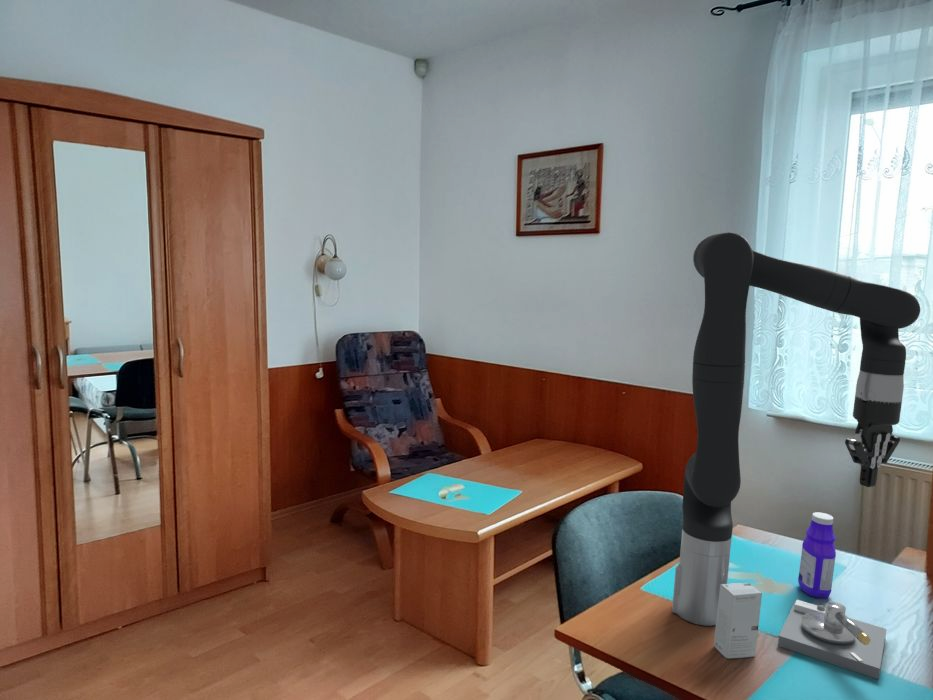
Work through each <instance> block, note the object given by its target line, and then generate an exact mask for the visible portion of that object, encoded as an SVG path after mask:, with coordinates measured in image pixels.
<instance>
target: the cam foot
mask: <svg viewBox="0 0 933 700" xmlns="http://www.w3.org/2000/svg"><path fill="white" fill-rule="evenodd" d="M824 608H825V613H818V612H811V613H806V614H804V615H803V616H802V621H801V626H802V628H803V629H804V631H806V632H807V633H808V634H809V635H811V636H813V637H815V638H817V639H819V640H822V641H825V642H828V643H832V644H840V645H846V644H851V643H853V642H854V641H855V638H857V639H858V640H859V641H860V642H861V643H862V644H864V645H868V644H869V643H870V642H871V639H870V637H869V636H868V635H867V634H866V633H864V632H863V631H862V630H861V629H860V628H859V627H858V626H857V625H856V624H855V623H853V622H852V621H851V620H850V619H849V618H850V617H848V616H847V615H846V609H847V607H846V606H845V605H843V604H842V603H840V602H836V601H827V602H826V603H825V607H824Z"/></svg>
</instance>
